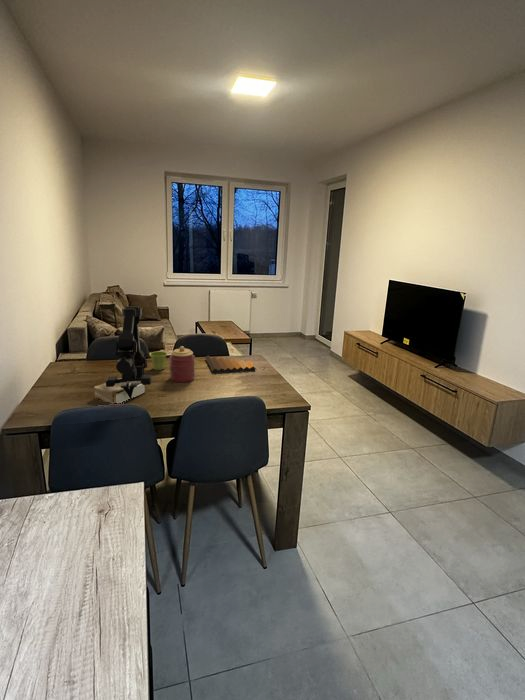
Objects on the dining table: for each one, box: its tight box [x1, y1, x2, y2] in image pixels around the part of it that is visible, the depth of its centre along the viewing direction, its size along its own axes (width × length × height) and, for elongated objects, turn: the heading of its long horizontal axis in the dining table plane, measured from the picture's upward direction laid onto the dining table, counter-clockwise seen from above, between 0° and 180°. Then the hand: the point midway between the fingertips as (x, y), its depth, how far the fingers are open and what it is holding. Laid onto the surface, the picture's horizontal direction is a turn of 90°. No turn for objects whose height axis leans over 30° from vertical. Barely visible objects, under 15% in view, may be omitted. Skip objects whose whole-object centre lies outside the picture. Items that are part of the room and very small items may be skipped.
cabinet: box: [93, 376, 141, 403], centre depth 186 cm, size 18×12×6 cm, turn 149°
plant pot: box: [149, 351, 168, 371], centre depth 223 cm, size 9×9×9 cm
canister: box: [169, 345, 196, 383], centre depth 208 cm, size 13×13×18 cm
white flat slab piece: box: [116, 384, 146, 404], centre depth 182 cm, size 18×1×5 cm, turn 154°
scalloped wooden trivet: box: [204, 355, 256, 374], centre depth 234 cm, size 25×3×25 cm
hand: (130, 398), depth 178 cm, fingers closed
